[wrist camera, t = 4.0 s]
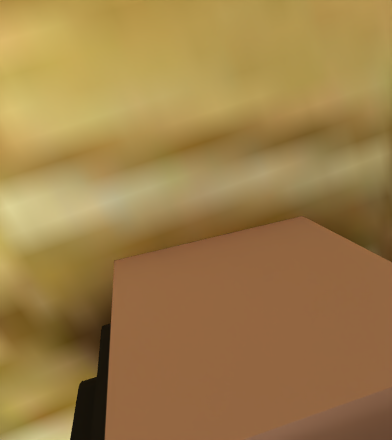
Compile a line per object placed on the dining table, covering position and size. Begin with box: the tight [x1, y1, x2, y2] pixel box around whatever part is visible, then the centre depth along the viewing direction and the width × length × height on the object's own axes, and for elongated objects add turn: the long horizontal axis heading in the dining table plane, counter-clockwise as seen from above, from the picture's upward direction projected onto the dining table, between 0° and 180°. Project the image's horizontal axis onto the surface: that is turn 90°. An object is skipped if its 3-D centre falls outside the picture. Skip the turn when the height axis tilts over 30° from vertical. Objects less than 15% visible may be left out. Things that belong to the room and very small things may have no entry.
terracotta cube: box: [105, 216, 392, 440], centre depth 8 cm, size 6×6×6 cm
